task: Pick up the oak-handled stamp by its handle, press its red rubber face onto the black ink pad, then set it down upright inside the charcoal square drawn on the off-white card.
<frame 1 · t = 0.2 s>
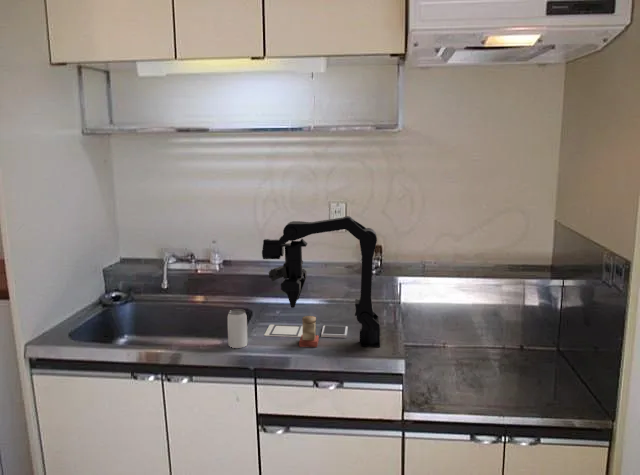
hand: (294, 303, 176), 14 cm above the countertop, tool pointing down, fingers open, 9 cm apart
ink pad: (334, 332, 187), on the countertop
stamp: (309, 343, 177), on the countertop
print sheet: (285, 331, 189), on the countertop
can: (238, 345, 175), on the countertop
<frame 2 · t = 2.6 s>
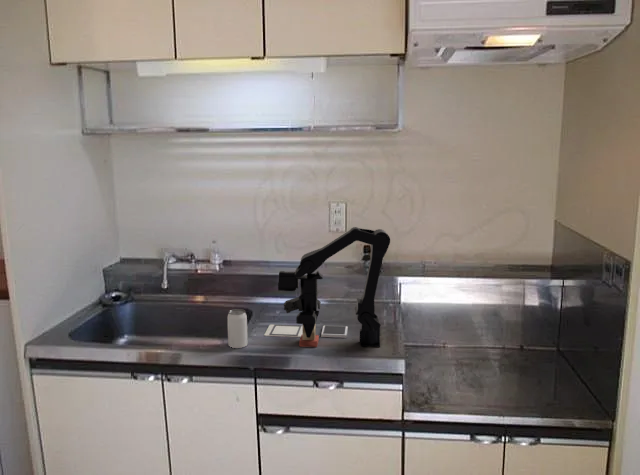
hand: (309, 335, 176), 3 cm above the countertop, tool pointing down, fingers closed on stamp, 4 cm apart
stamp: (309, 343, 177), on the countertop, touching gripper
everything else where it was.
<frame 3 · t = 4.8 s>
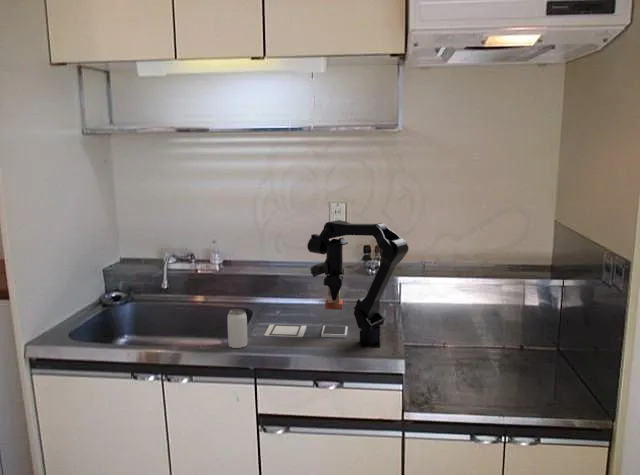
hand: (334, 298, 184), 13 cm above the countertop, tool pointing down, fingers closed on stamp, 4 cm apart
stamp: (334, 306, 185), point 10 cm above the countertop, touching gripper
everything else where it was.
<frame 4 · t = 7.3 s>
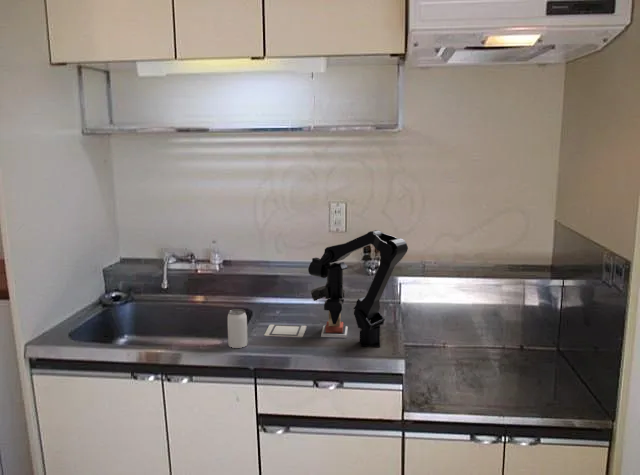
hand: (334, 321, 186), 4 cm above the countertop, tool pointing down, fingers closed on stamp, 4 cm apart
stamp: (334, 329, 187), point 1 cm above the countertop, touching gripper, ink pad
everything else where it was.
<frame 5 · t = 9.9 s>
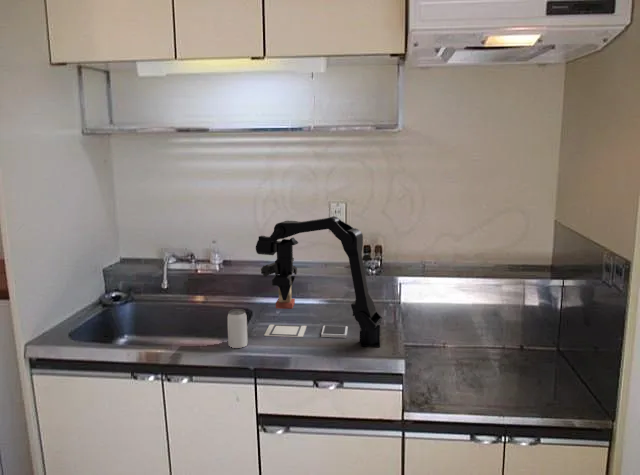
hand: (285, 298, 186), 13 cm above the countertop, tool pointing down, fingers closed on stamp, 4 cm apart
stamp: (285, 306, 187), point 10 cm above the countertop, touching gripper
everything else where it was.
when the fingers open (4 cm above the countertop, at t = 12.0 s): stamp drops 1 cm, resting on print sheet.
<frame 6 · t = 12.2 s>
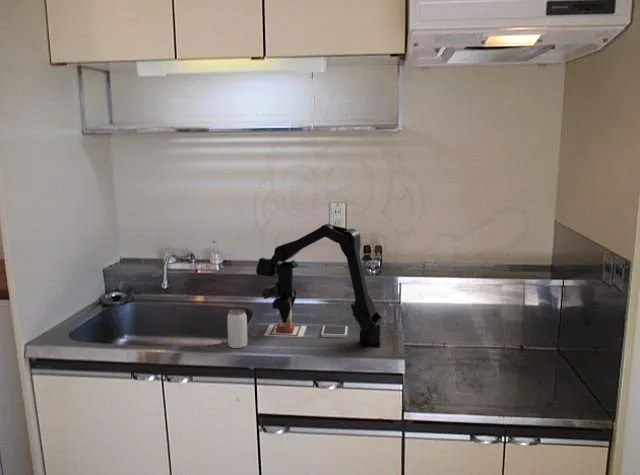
hand: (285, 319, 188), 4 cm above the countertop, tool pointing down, fingers open, 6 cm apart
stamp: (285, 330, 189), resting on print sheet
everything else where it was.
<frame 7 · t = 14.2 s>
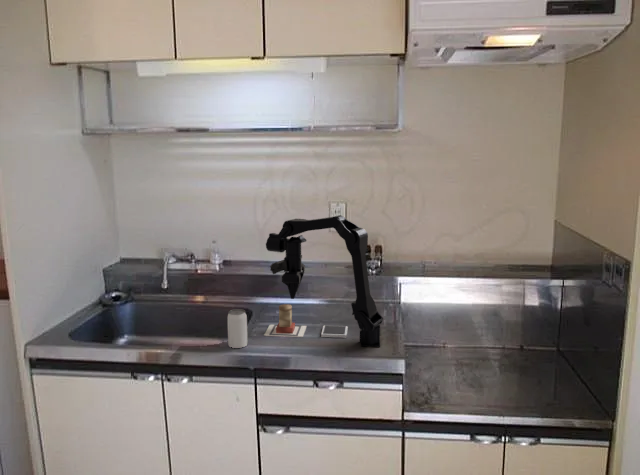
hand: (294, 295, 189), 13 cm above the countertop, tool pointing down, fingers open, 9 cm apart
nothing on the countertop moved.
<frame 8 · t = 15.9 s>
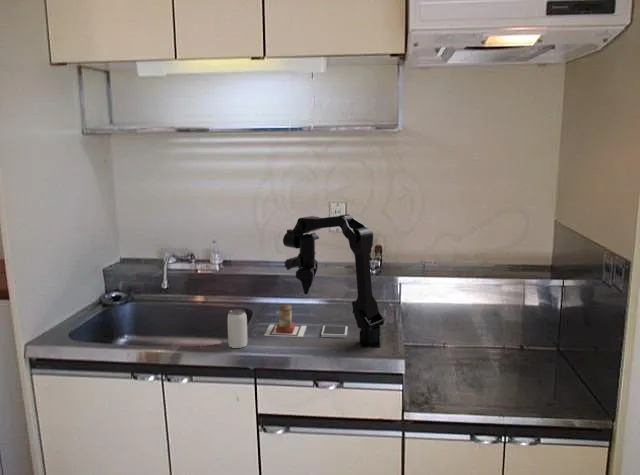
hand: (307, 290, 194), 13 cm above the countertop, tool pointing down, fingers open, 9 cm apart
nothing on the countertop moved.
at the end: stamp 0.0 cm off-centre on the print sheet, point 0.3 cm above the print sheet's base; stamp tilted 0°; the gripper is holding nothing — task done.
